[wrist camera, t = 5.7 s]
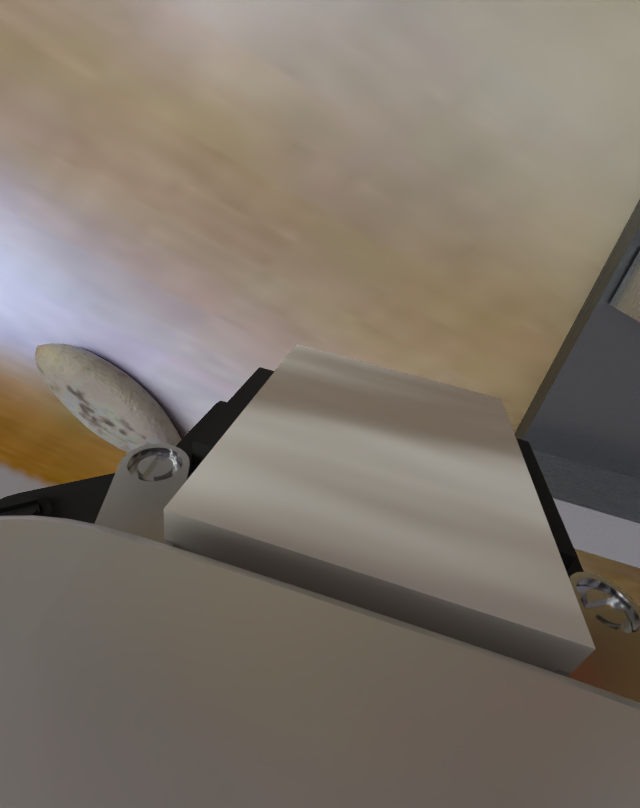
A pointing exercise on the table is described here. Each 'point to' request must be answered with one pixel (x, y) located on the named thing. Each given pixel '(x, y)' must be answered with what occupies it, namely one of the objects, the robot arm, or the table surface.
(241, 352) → the table surface
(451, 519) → the block
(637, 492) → the vise
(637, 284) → the sliding jaw
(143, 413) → the decorative stone
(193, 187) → the table surface
